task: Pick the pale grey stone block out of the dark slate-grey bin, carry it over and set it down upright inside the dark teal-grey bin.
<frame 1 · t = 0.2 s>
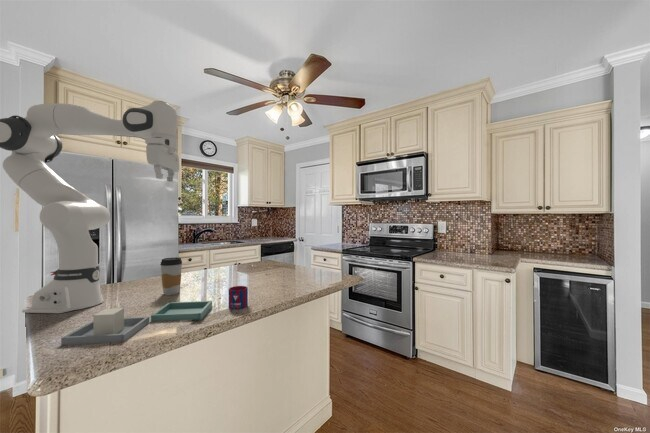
hand: (164, 180, 108), 48 cm above the countertop, fingers open, 8 cm apart
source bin: (109, 334, 78), on the countertop
cup: (239, 305, 104), on the countertop
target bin: (183, 314, 94), on the countertop
stone block: (109, 332, 78), point 1 cm above the countertop, touching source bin
coffee cup: (171, 293, 120), on the countertop
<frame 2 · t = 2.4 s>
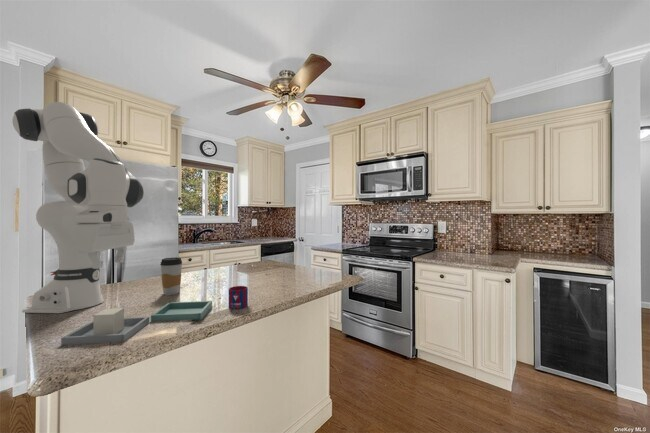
hand: (109, 265, 78), 20 cm above the countertop, fingers open, 8 cm apart
nothing on the countertop moved.
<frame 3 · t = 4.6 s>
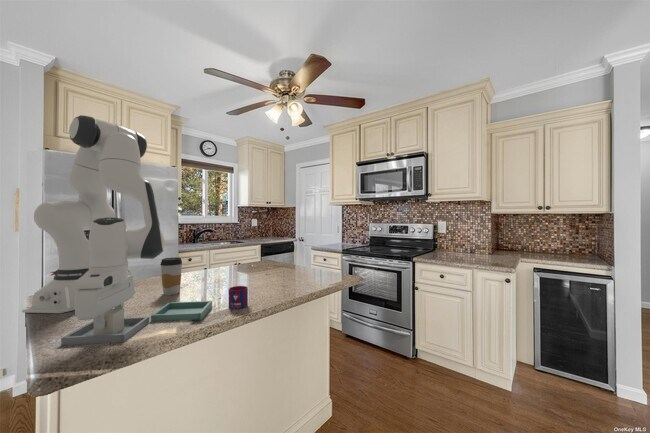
hand: (109, 323, 78), 3 cm above the countertop, fingers closed on stone block, 5 cm apart
stone block: (109, 332, 78), point 1 cm above the countertop, touching gripper, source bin
everything else where it was.
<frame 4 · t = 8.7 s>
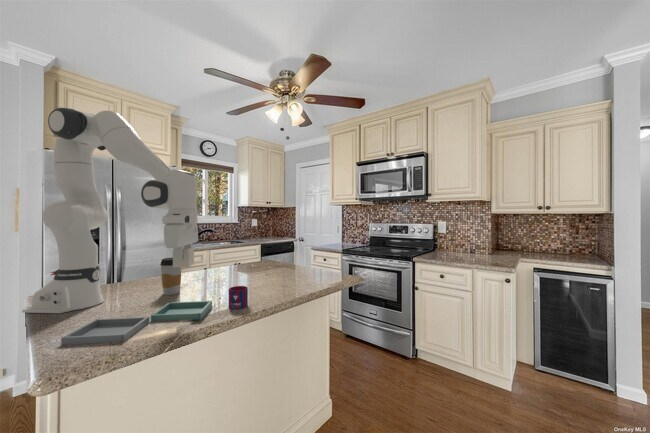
hand: (183, 258, 94), 19 cm above the countertop, fingers closed on stone block, 5 cm apart
stone block: (183, 265, 94), point 17 cm above the countertop, touching gripper
everything else where it was.
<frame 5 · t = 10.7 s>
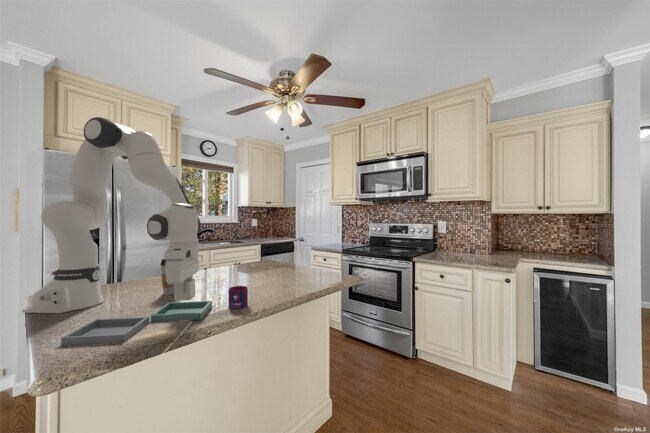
hand: (184, 291, 94), 8 cm above the countertop, fingers closed on stone block, 5 cm apart
stone block: (185, 298, 94), point 5 cm above the countertop, touching gripper
everything else where it was.
when the fingers open (4 cm above the countertop, at t = 12.4 s): stone block stays where it is, resting on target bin.
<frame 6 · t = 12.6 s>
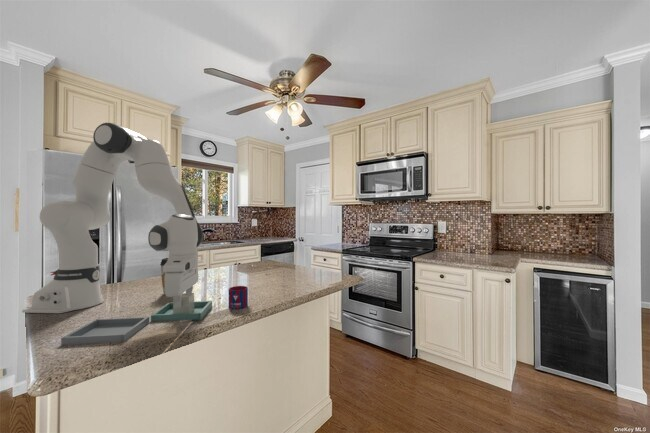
hand: (183, 302, 94), 4 cm above the countertop, fingers open, 7 cm apart
stone block: (184, 312, 94), point 1 cm above the countertop, touching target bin
everything else where it was.
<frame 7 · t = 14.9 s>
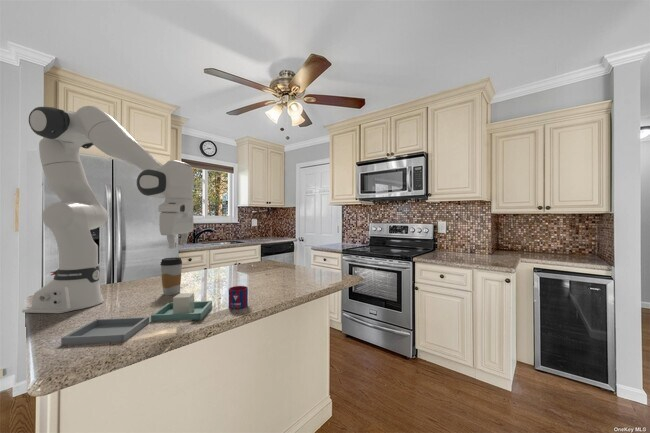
hand: (178, 246, 97), 23 cm above the countertop, fingers open, 8 cm apart
nothing on the countertop moved.
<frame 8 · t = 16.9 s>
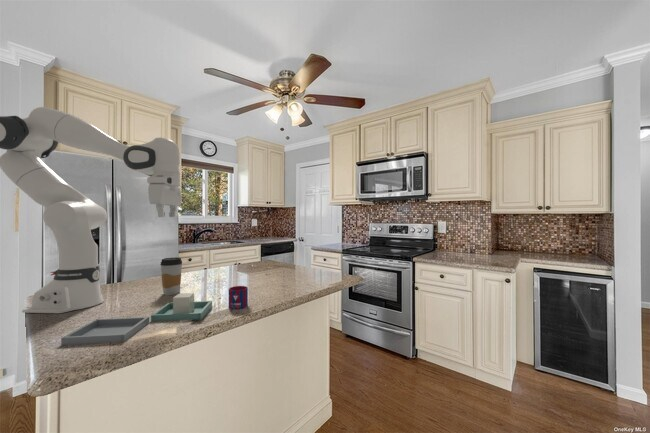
hand: (167, 217, 107), 33 cm above the countertop, fingers open, 8 cm apart
nothing on the countertop moved.
at the end: stone block inside the target area on the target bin (0.0 cm from its centre), point 0.6 cm above the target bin's base; stone block tilted 0°; the gripper is holding nothing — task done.
